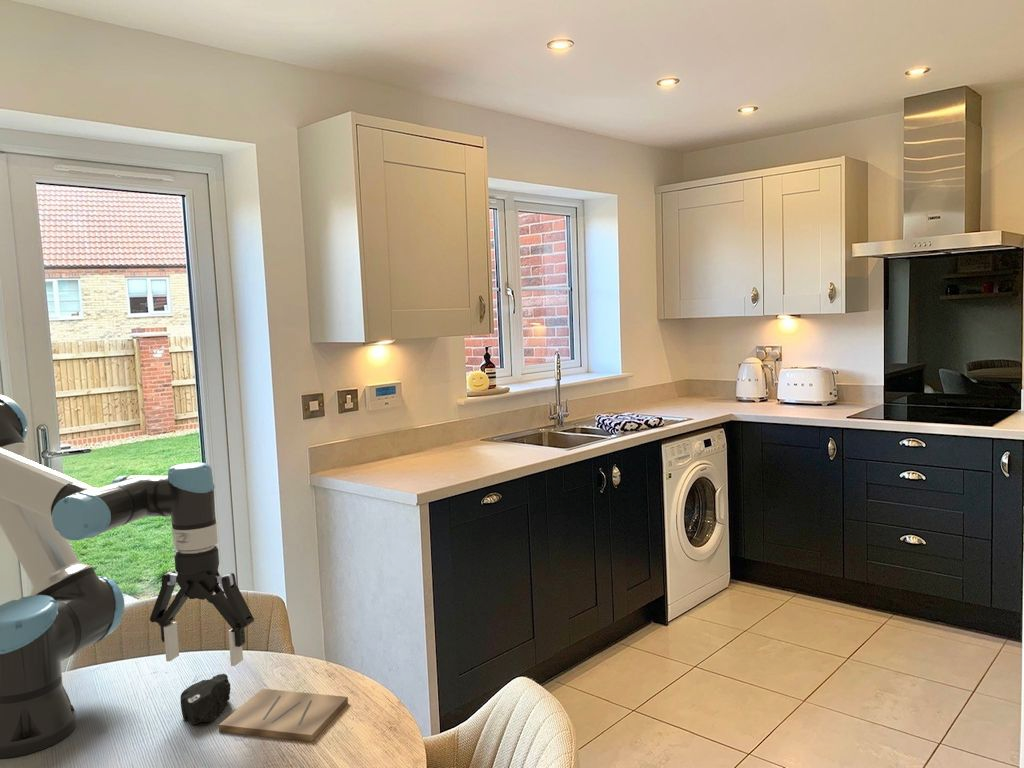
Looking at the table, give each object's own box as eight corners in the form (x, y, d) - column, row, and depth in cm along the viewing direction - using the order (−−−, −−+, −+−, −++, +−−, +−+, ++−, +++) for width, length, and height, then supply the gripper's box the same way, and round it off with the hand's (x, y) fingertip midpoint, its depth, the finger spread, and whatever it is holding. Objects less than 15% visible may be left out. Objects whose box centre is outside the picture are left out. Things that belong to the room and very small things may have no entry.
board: (219, 731, 139) (218, 724, 139) (262, 694, 153) (262, 688, 152) (311, 741, 135) (311, 734, 135) (347, 703, 148) (347, 696, 148)
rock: (194, 732, 139) (193, 700, 139) (175, 712, 147) (173, 681, 146) (244, 715, 145) (243, 684, 144) (222, 696, 153) (221, 667, 152)
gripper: (123, 552, 143) (132, 665, 145) (244, 555, 137) (253, 673, 139) (151, 540, 151) (160, 648, 152) (268, 544, 145) (275, 656, 146)
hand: (204, 660), depth 146 cm, fingers open, 13 cm apart
